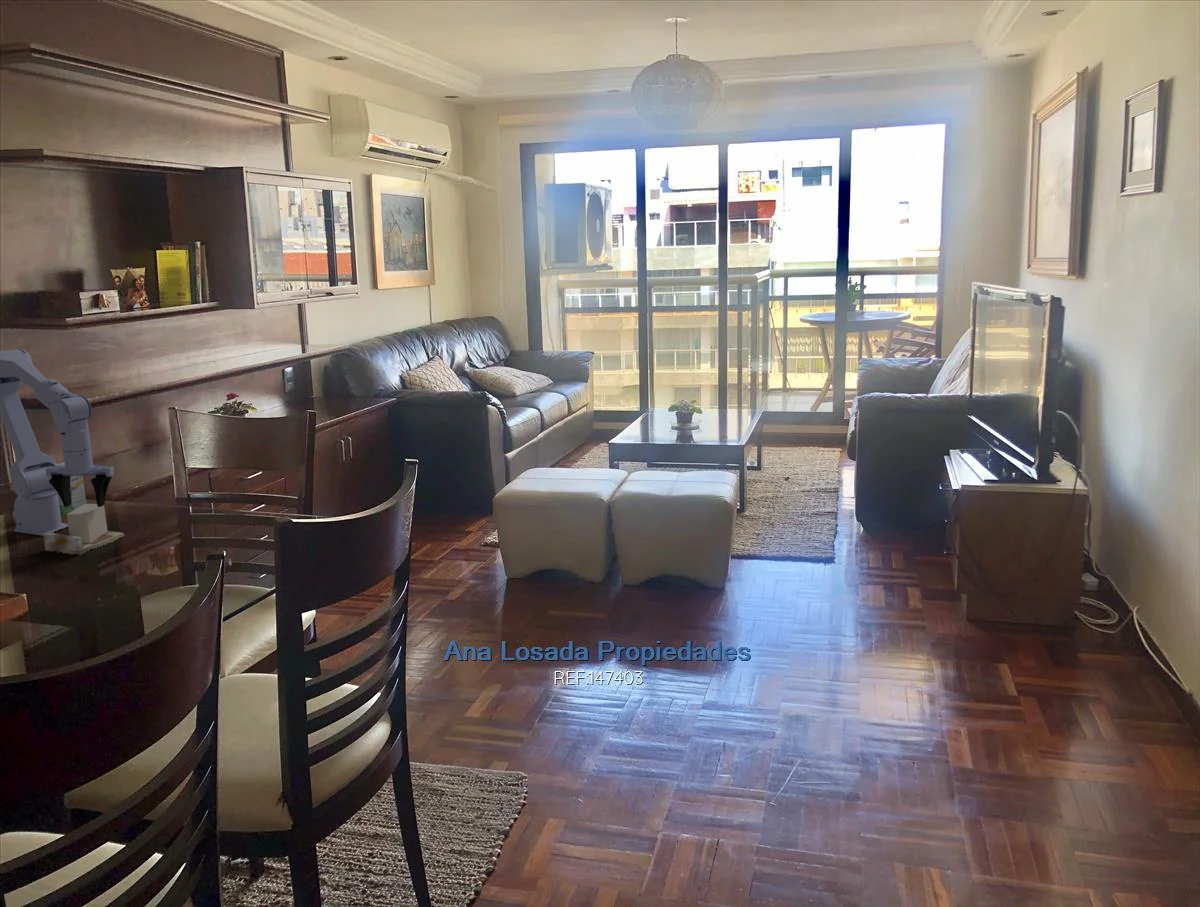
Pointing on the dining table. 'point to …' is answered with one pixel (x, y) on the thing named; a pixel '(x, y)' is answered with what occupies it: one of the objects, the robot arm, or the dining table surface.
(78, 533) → the carton
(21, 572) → the dining table surface
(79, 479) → the ink box
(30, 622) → the dining table surface
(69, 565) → the dining table surface
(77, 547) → the cream tray
